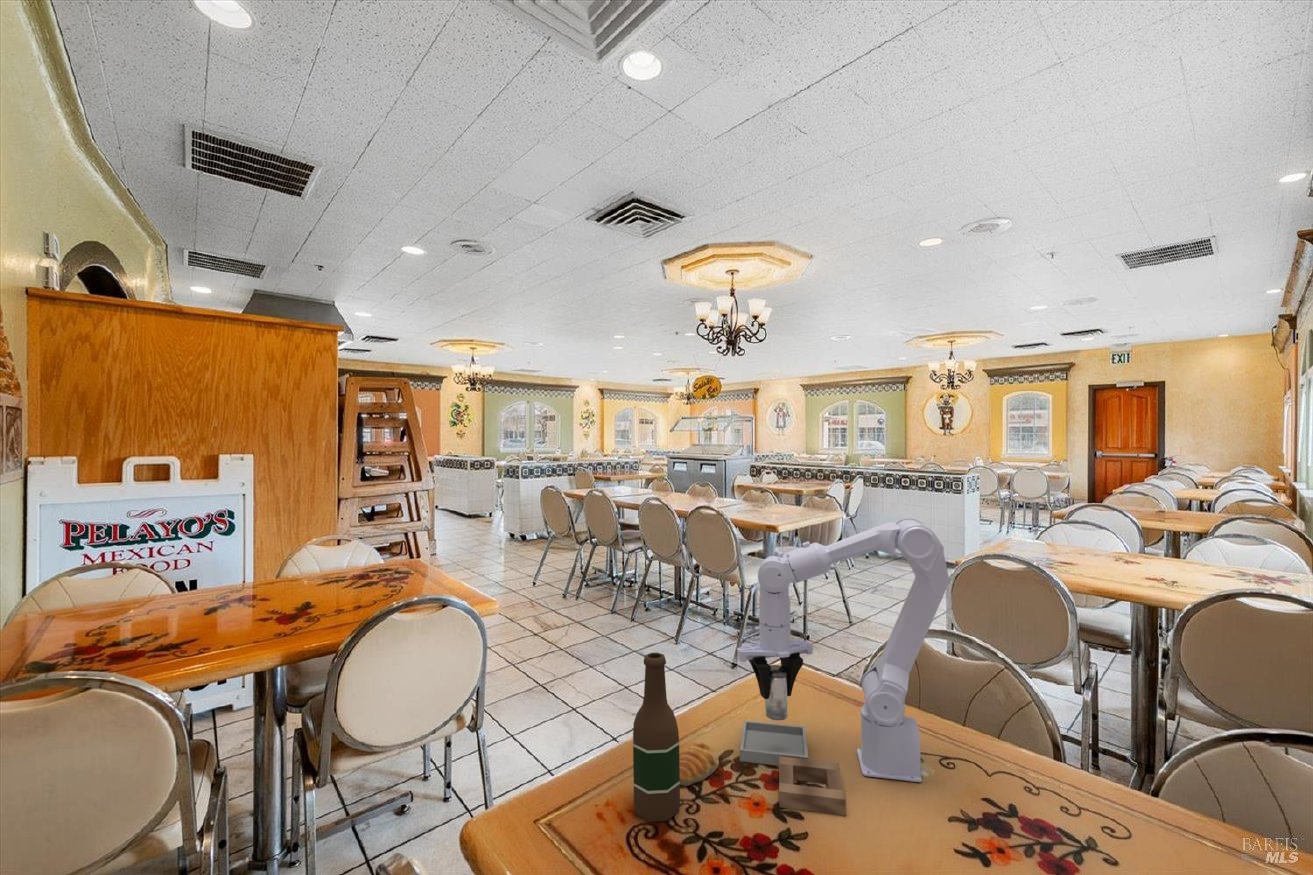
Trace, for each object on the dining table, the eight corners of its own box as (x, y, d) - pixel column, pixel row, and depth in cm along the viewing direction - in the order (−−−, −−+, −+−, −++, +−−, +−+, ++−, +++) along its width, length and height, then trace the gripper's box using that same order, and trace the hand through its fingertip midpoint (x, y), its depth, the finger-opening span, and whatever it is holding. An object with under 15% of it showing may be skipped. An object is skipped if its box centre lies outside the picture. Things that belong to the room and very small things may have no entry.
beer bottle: (686, 797, 90) (685, 649, 90) (672, 828, 82) (670, 667, 82) (642, 788, 92) (640, 644, 92) (624, 818, 85) (622, 661, 85)
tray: (805, 736, 108) (805, 726, 108) (808, 768, 97) (808, 757, 97) (743, 730, 110) (743, 720, 110) (739, 761, 100) (739, 749, 100)
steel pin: (770, 707, 105) (770, 663, 105) (790, 713, 103) (790, 667, 103) (762, 716, 102) (761, 670, 102) (782, 722, 100) (782, 675, 100)
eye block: (838, 777, 94) (838, 762, 94) (845, 815, 85) (845, 799, 85) (779, 770, 97) (779, 756, 97) (779, 807, 87) (779, 791, 87)
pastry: (693, 795, 90) (692, 771, 90) (660, 781, 94) (659, 758, 95) (721, 767, 98) (721, 746, 98) (690, 755, 102) (689, 735, 102)
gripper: (747, 632, 97) (748, 710, 97) (820, 625, 101) (821, 700, 101) (732, 620, 104) (733, 692, 104) (801, 614, 108) (802, 683, 107)
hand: (775, 695), depth 103 cm, fingers closed on steel pin, 4 cm apart
